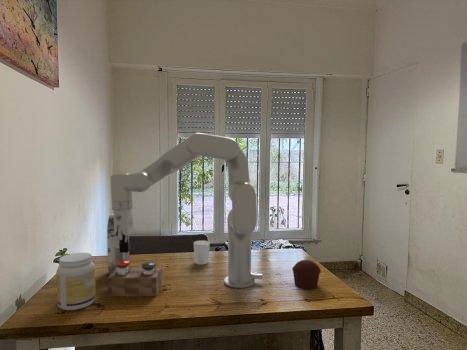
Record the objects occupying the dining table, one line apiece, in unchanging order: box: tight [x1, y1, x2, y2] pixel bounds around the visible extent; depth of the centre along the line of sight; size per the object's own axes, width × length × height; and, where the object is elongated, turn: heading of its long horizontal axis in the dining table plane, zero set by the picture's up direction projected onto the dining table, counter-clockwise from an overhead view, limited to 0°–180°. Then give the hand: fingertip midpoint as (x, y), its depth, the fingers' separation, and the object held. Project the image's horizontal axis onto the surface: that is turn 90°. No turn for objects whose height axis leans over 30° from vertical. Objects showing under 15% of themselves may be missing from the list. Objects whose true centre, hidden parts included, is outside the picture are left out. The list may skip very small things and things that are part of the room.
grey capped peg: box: [141, 261, 157, 274], centre depth 127 cm, size 5×5×10 cm
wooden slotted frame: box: [106, 266, 163, 298], centre depth 127 cm, size 12×18×7 cm, turn 93°
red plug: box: [116, 259, 131, 275], centre depth 126 cm, size 5×5×10 cm
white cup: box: [193, 240, 211, 266], centre depth 160 cm, size 8×8×10 cm
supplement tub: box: [56, 252, 96, 311], centre depth 115 cm, size 12×12×17 cm
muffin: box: [291, 259, 322, 291], centre depth 132 cm, size 12×11×10 cm
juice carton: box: [106, 213, 130, 276], centre depth 144 cm, size 9×10×27 cm
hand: (124, 251), depth 126 cm, fingers closed
